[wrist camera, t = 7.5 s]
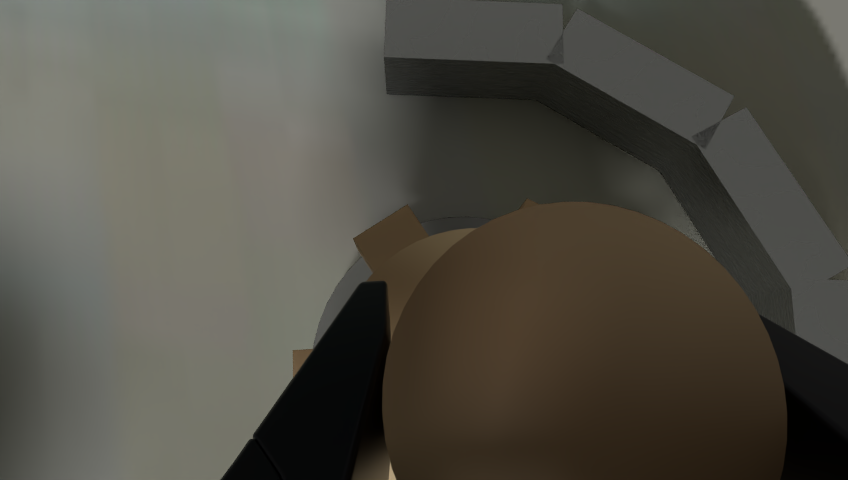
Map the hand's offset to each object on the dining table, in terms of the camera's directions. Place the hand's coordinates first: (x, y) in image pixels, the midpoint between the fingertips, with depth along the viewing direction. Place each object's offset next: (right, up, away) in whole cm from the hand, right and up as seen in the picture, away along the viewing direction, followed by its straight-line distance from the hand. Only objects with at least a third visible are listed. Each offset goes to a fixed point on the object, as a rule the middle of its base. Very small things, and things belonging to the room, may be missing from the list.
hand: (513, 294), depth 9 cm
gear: (0, -3, +6) cm, 7 cm away
